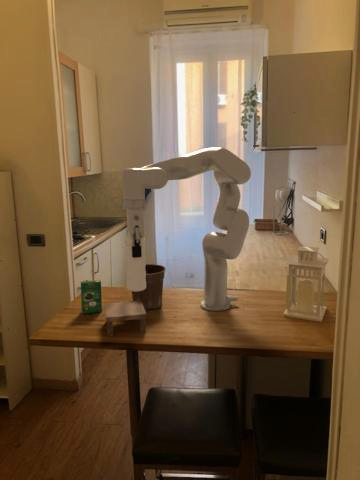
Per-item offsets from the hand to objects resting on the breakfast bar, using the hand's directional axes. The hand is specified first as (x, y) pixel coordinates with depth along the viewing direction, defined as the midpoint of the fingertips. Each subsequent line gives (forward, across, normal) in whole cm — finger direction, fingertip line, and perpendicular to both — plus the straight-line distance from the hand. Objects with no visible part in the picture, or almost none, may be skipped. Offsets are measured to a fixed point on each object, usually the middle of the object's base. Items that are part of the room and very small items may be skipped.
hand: (135, 254), depth 135 cm
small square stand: (+28, +3, +4) cm, 28 cm away
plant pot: (+28, +22, -7) cm, 36 cm away
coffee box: (+28, +20, +16) cm, 38 cm away
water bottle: (+13, 0, 0) cm, 13 cm away
